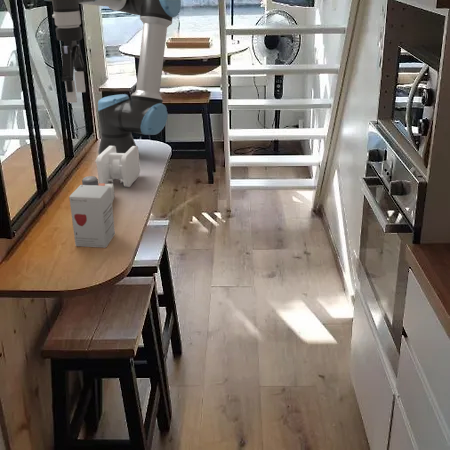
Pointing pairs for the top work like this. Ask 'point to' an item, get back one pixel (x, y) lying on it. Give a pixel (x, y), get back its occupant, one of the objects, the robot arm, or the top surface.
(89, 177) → the plug
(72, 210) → the supplement box
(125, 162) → the cable organizer
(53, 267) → the top surface
